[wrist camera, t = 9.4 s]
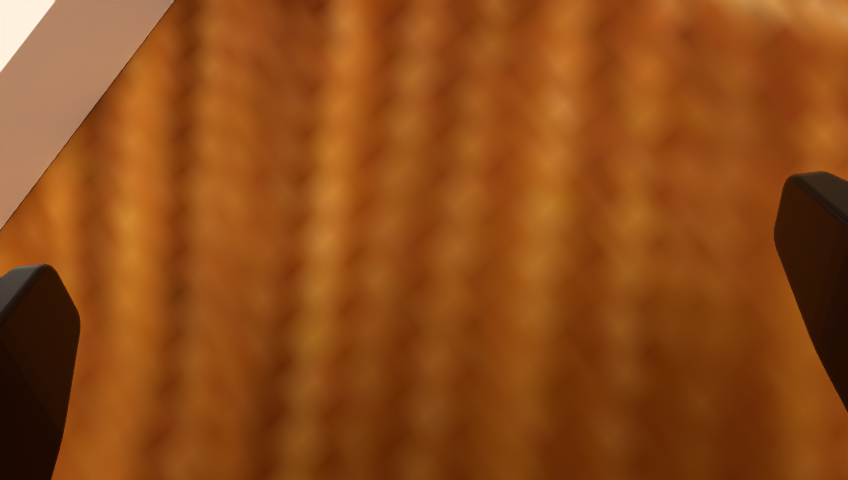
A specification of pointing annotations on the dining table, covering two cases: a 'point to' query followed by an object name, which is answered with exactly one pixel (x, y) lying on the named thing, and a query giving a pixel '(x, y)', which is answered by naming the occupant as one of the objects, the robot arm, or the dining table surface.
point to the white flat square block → (58, 76)
